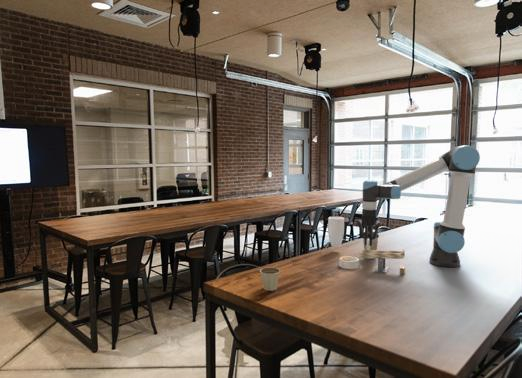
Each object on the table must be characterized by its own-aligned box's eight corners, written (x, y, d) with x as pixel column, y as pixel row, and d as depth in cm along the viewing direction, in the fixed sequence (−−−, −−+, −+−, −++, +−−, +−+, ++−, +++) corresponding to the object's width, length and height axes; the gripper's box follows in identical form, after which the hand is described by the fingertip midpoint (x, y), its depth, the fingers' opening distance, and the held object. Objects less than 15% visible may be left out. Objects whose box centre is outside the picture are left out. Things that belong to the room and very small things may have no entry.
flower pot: (274, 294, 160) (273, 275, 159) (256, 290, 165) (255, 271, 164) (284, 287, 168) (284, 269, 167) (266, 283, 173) (266, 266, 172)
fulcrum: (405, 270, 190) (406, 256, 189) (403, 276, 180) (403, 261, 180) (377, 266, 197) (377, 253, 196) (373, 272, 187) (373, 258, 186)
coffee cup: (379, 260, 208) (379, 234, 207) (362, 259, 210) (362, 234, 209) (377, 255, 217) (378, 231, 216) (361, 255, 219) (361, 230, 218)
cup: (326, 253, 225) (326, 218, 223) (329, 248, 235) (329, 216, 233) (342, 254, 222) (343, 219, 220) (345, 250, 231) (345, 216, 229)
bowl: (360, 264, 201) (360, 257, 200) (356, 269, 192) (356, 262, 191) (342, 262, 205) (342, 255, 205) (337, 267, 196) (337, 260, 196)
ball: (341, 259, 202) (345, 264, 201) (339, 260, 199) (343, 266, 198) (346, 256, 200) (350, 261, 200) (345, 257, 197) (348, 263, 197)
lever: (406, 252, 194) (405, 246, 193) (403, 258, 182) (402, 252, 182) (364, 251, 204) (364, 246, 204) (359, 257, 192) (358, 251, 192)
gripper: (382, 208, 198) (381, 250, 201) (358, 207, 204) (357, 248, 207) (380, 210, 192) (379, 254, 194) (355, 208, 198) (354, 251, 200)
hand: (368, 251), depth 200 cm, fingers closed
